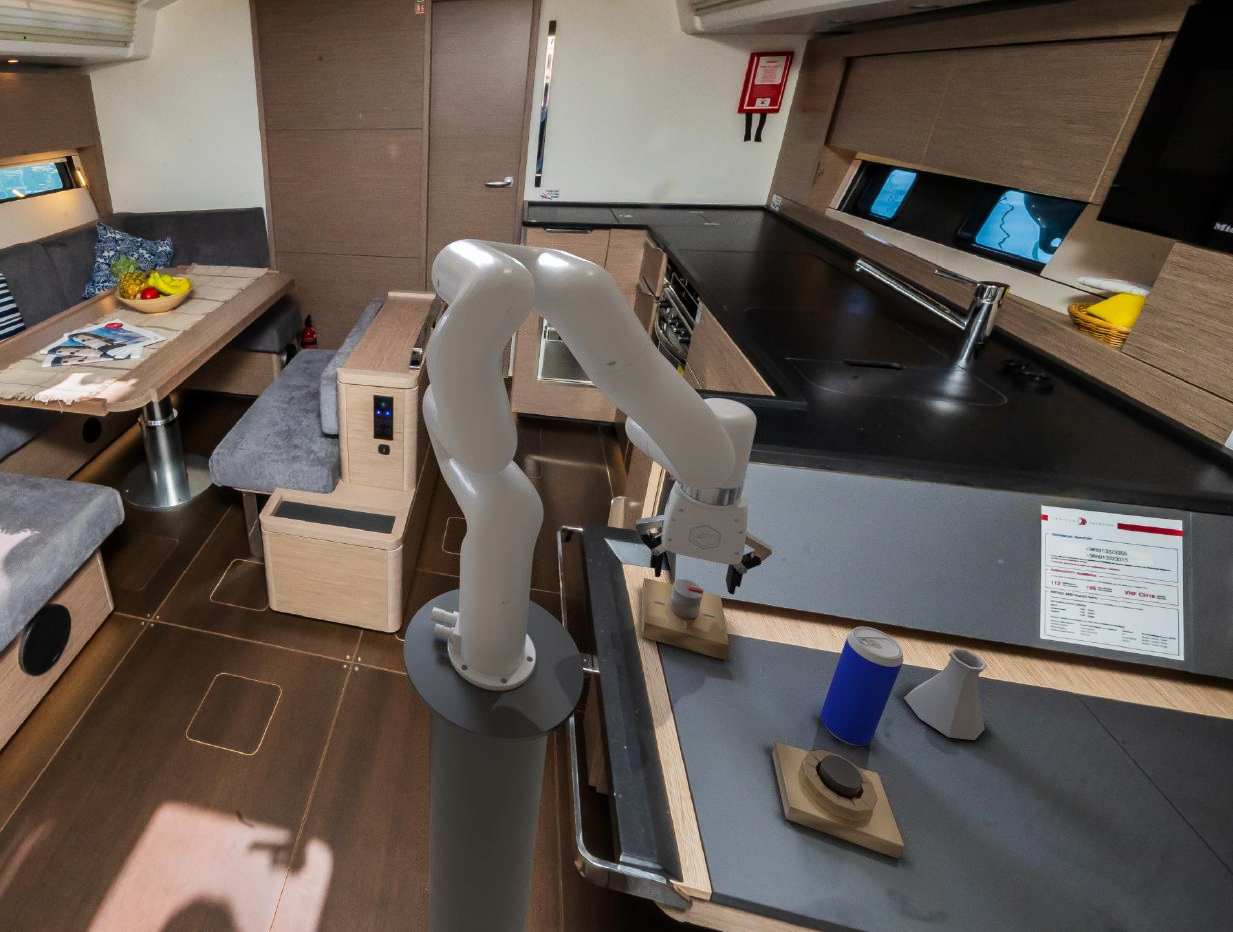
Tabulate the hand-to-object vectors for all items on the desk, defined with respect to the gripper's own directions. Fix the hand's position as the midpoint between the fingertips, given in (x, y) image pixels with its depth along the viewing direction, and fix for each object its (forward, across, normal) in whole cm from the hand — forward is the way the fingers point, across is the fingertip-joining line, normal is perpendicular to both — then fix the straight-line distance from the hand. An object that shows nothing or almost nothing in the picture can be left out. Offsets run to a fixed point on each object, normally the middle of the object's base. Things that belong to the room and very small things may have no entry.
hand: (692, 579), depth 89 cm
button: (+5, +14, -22) cm, 27 cm away
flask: (+9, +30, -4) cm, 31 cm away
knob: (+6, 0, 0) cm, 6 cm away
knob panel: (+9, 0, 0) cm, 9 cm away
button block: (+9, +14, -22) cm, 28 cm away
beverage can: (+9, +18, -11) cm, 23 cm away
